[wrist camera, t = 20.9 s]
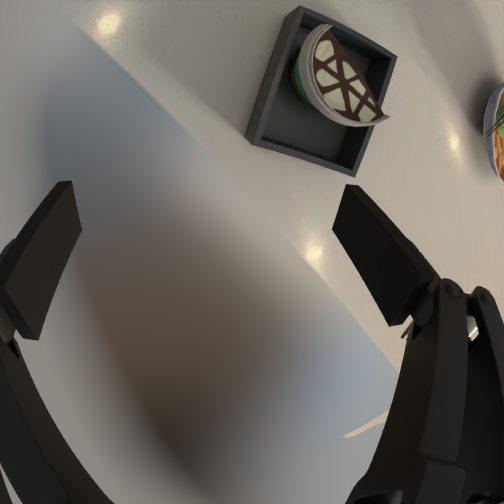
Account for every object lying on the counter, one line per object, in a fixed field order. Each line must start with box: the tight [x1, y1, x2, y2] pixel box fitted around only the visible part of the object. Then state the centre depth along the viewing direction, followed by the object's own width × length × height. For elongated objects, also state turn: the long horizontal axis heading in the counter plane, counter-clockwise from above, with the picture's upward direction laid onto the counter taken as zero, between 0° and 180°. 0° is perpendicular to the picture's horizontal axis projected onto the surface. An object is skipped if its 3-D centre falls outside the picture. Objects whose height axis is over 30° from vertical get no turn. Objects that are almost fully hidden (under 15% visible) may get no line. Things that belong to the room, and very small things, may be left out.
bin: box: [245, 6, 397, 177], centre depth 29 cm, size 14×18×6 cm
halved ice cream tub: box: [288, 24, 390, 127], centre depth 27 cm, size 12×6×10 cm, turn 38°
